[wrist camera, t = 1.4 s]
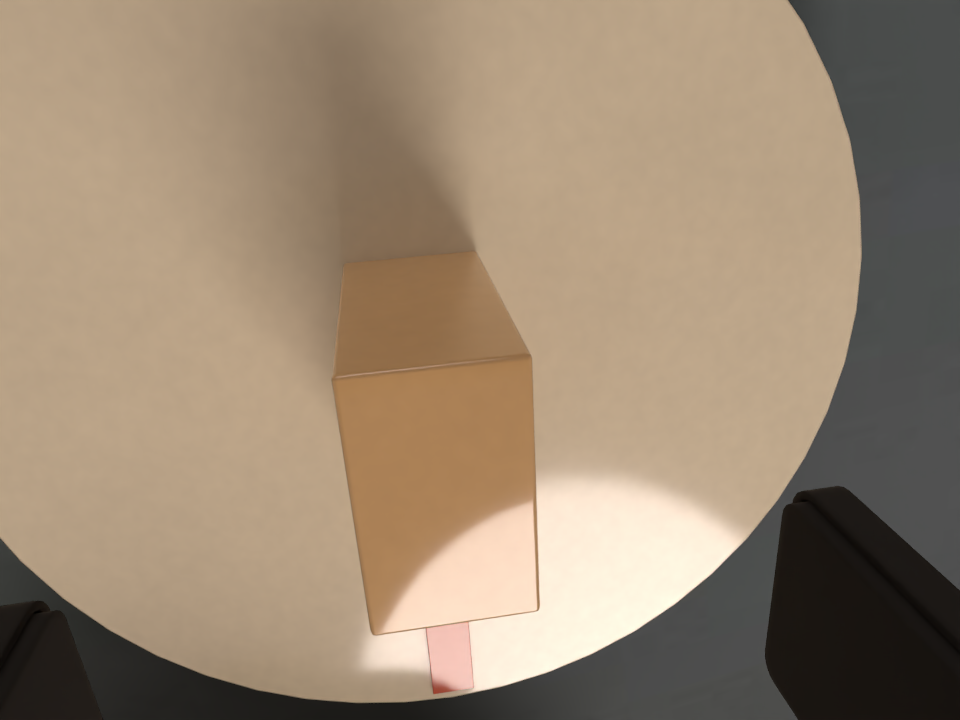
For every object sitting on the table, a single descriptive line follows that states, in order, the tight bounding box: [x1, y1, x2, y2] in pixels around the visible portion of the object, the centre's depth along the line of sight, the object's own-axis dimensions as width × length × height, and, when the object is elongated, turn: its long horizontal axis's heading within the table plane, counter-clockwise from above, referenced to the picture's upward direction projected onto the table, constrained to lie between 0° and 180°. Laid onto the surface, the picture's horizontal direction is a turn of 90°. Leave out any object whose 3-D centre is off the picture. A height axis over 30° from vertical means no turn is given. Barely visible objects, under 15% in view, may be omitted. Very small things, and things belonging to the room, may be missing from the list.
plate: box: [0, 0, 862, 703], centre depth 15 cm, size 22×22×7 cm
